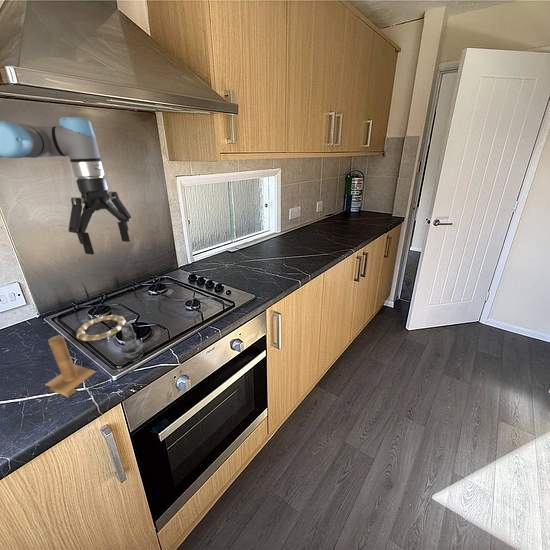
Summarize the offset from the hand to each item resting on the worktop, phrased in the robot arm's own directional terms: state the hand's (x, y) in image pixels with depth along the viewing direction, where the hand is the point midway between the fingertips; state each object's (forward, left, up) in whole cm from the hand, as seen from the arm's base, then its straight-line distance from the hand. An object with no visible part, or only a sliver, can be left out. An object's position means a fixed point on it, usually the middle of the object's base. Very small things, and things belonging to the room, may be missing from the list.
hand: (109, 247), depth 94 cm
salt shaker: (+19, -16, -27) cm, 37 cm away
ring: (-2, -9, -26) cm, 27 cm away
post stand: (+11, -29, -27) cm, 41 cm away
